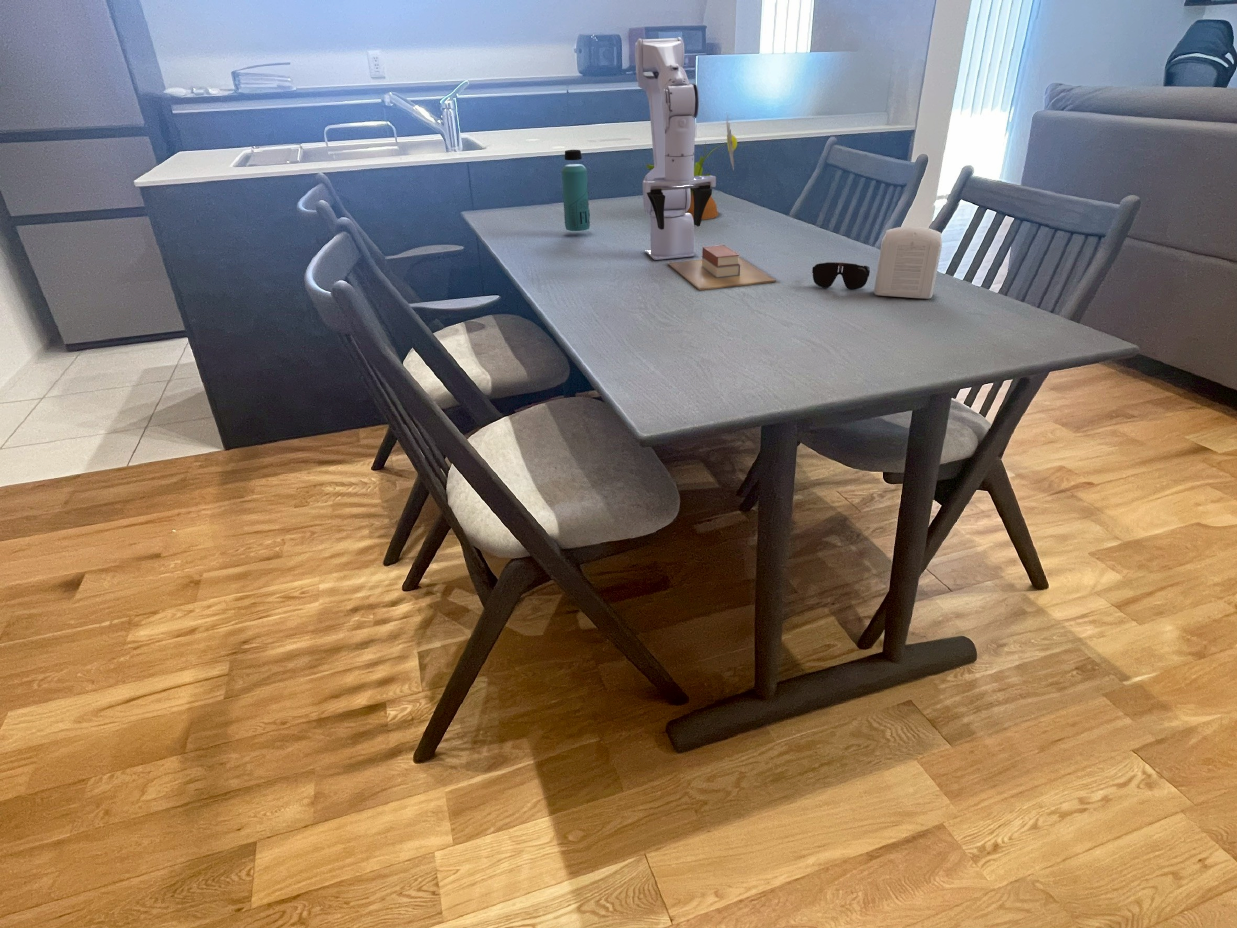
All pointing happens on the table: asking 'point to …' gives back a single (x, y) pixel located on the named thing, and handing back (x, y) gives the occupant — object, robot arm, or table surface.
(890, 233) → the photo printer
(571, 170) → the beverage bottle
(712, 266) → the book stack
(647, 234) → the table surface
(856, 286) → the sunglasses
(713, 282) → the cork mat
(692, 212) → the decorative plant
